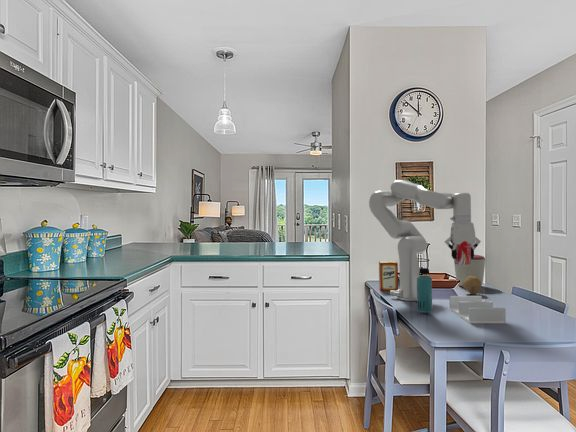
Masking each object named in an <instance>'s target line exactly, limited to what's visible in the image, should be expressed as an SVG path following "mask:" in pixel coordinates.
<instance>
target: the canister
mask: <svg viewBox="0 0 576 432" xmlns="http://www.w3.org/2000/svg"><path fill="white" fill-rule="evenodd" d="M486 261H487V258H486V257H485V256H483V255H479V254H474V257H473V259H471V264H470V265H469V266H457V265H456V264H455V260H454V259H453V264H454V265H453V266H454V271H455V273H454V274H455V280H456V279H458V280H460V282H459V284H458V283H457V285H458V286H460V287H463V282H464V281H465V279H466V278H467V277H468V276H476V277H478V278H479V279H480V281H481V286H482V285H483V283H484V276H485V267H486ZM463 288H464V287H463Z"/></svg>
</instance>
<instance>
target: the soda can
mask: <svg viewBox="0 0 576 432" xmlns="http://www.w3.org/2000/svg"><path fill="white" fill-rule="evenodd" d="M455 250H456V254H457V258H456V259H453V261H454V260H455V264H456V265H457V266H469V265H470V264H471V244H469V243H468V242H466V241H464V242H462V243H461V244H460V245H457V247H456V249H455Z"/></svg>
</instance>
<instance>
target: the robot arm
mask: <svg viewBox="0 0 576 432" xmlns="http://www.w3.org/2000/svg"><path fill="white" fill-rule="evenodd" d="M471 198H472V196H471V193H468V192H457V193H450V192H449V193H448V192H437V191H433V190H429V189H426V188H425V187H424V186H423V185H422V184H418V183H414V182H412V181H410V180H407V179H406V180H405V179H396V180H394V181H393V182H392V183H391V185H390V190H376V191H374V192H372V193H371V195H370V197H369V201H368V206H369V209H370V212H371V214H372V215H373V216H374V217H375V219H376V220H377V221H378V222H379V223H380V225H381V226H382V228H384V230H385V231H386V232H387V234H388V235H389V236H390V238H392V239H394V240H395V239H396V240H399V241H398V244H397V253H398V259H399V260H398V261H399V264H398V265H399V266H398V267H399V288H398V290H396V291H389V293H390V295H393V296H396V299H398V300H399V301H405V302H417V278H418V277H419V276H420V273H419V271H420V263H419V257H418V255H419V254H422V253H425V251H426V250H427V248H428V242H427V240H426V238H425V237H424V236H423V234H422V233H421V232H420V231H419V230H418V229H417V227H416V226H415V225H414V224H413V223H412V222H411V221H409V220H406V219H405V220H404V219H403V220H402V219H398V217H397V216H396V214H395V213H394V212H393V211H392V210H390V209H389V208H388V207H393V206H395V205H398V204H400V203H402V202H403V201H404V200H409V201H413V202H416V203H417V204H421V205H423V206H426V207H429V208H432V209H436V210H452V213H453V216H452V217H450V221H452V223H451V228H450V234H449V235H450V236H449V237H448V238H446V240H445V241H444V243H445V245H446V246H447V247H448V248H449V249H450V250H451V258H452V259H453V260H454V259H456V258H457V254H456V250H455V249H456V247H457V245H460V244H461V243H462V242H464V241H466V242H468V243H469V244H471V259H473V257H474V255H475V250H476V248H477V247H478V246H479V244H480V243H481V240H480V239H479V238H478V237H476V231H475V225H474V222H472V199H471Z"/></svg>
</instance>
